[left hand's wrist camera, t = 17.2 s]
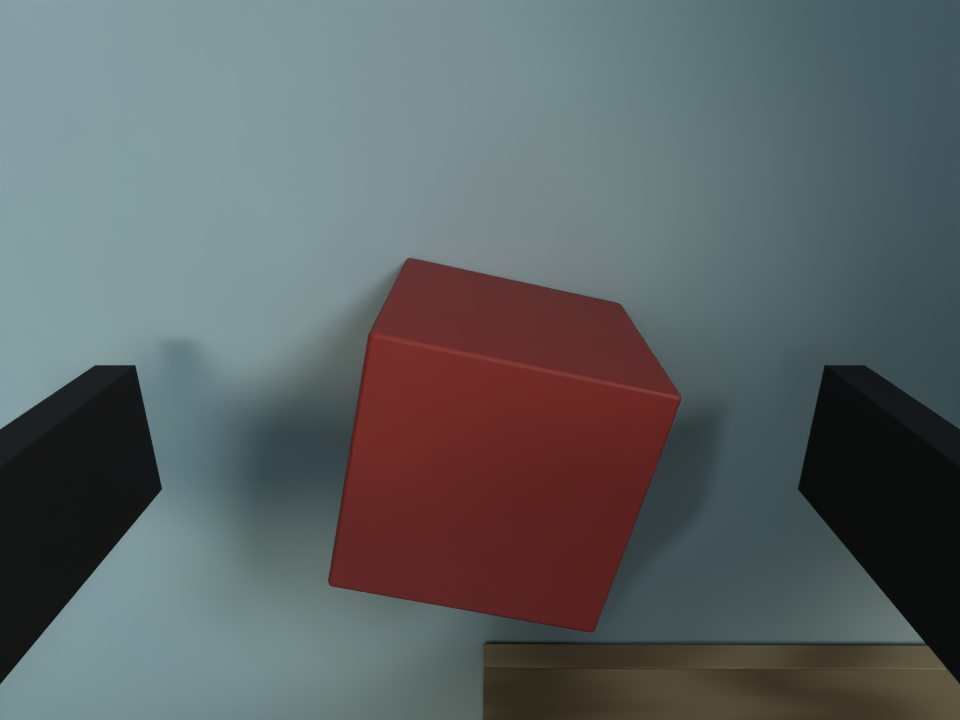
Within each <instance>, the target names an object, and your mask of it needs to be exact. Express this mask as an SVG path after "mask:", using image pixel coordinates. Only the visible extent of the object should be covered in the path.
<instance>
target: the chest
mask: <svg viewBox="0 0 960 720" xmlns="http://www.w3.org/2000/svg"><path fill="white" fill-rule="evenodd" d="M483 720H960V684H959V683H958V681H957V680H956V679H955V678H954V677H953V675H952V674H951V673H950V672H949V671H948V669H947V668H946V667H945V666H944V665H943V663H942V662H941V661H940V660H939V659H938V657H937V656H936V655H935V654H934V653H933V651H932V650H931V649H930V648H929V647H928V645H639V644H484V646H483Z"/></svg>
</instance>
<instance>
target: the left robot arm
mask: <svg viewBox="0 0 960 720" xmlns="http://www.w3.org/2000/svg"><path fill="white" fill-rule="evenodd" d="M161 490H162V487H161V482H160V478H159V473H158V468H157V464H156V459H155V454H154V450H153V445H152V440H151V436H150V431H149V427H148V422H147V417H146V413H145V408H144V403H143V399H142V394H141V389H140V385H139V380H138V376H137V371H136V366H135V365H95V366H94V367H92V368H91V369H89V370H88V371H86V372H85V373H83V374H82V375H80V376H79V377H77V378H76V379H74V380H73V381H71V382H70V383H68V384H67V385H65V386H64V387H62V388H61V389H59V390H58V391H56V392H55V393H54V394H52V395H51V396H49V397H48V398H46V399H45V400H43V401H42V402H40V403H39V404H37V405H36V406H34V407H33V408H31V409H30V410H28V411H27V412H25V413H24V414H22V415H21V416H19V417H18V418H16V419H15V420H14V421H12V422H11V423H9V424H8V425H6V426H5V427H3V428H2V429H0V684H1V683H2V681H3V680H4V679H5V678H6V677H7V675H8V674H9V673H10V672H11V671H12V669H13V668H14V667H15V666H16V665H17V663H18V662H19V661H20V660H21V659H22V657H23V656H24V655H25V654H26V653H27V651H28V650H29V649H30V648H31V646H32V645H33V644H34V643H35V642H36V640H37V639H38V638H39V637H40V636H41V634H42V633H43V632H44V631H45V630H46V628H47V627H48V626H49V625H50V624H51V622H52V621H53V620H54V619H55V618H56V616H57V615H58V614H59V613H60V612H61V610H62V609H63V608H64V607H65V605H66V604H67V603H68V602H69V601H70V599H71V598H72V597H73V596H74V595H75V593H76V592H77V591H78V590H79V589H80V587H81V586H82V585H83V584H84V583H85V581H86V580H87V579H88V578H89V577H90V575H91V574H92V573H93V572H94V571H95V569H96V568H97V567H98V566H99V564H100V563H101V562H102V561H103V560H104V558H105V557H106V556H107V555H108V554H109V552H110V551H111V550H112V549H113V548H114V546H115V545H116V544H117V543H118V542H119V540H120V539H121V538H122V537H123V536H124V534H125V533H126V532H127V531H128V530H129V528H130V527H131V526H132V525H133V523H134V522H135V521H136V520H137V519H138V517H139V516H140V515H141V514H142V513H143V511H144V510H145V509H146V508H147V507H148V505H149V504H150V503H151V502H152V501H153V499H154V498H155V497H156V496H157V495H158V493H159V492H160V491H161ZM798 490H799V491H800V492H801V493H802V495H803V496H804V497H805V498H806V499H807V501H808V502H809V503H810V504H811V505H812V507H813V508H814V509H815V510H816V511H817V513H818V514H819V515H820V516H821V517H822V519H823V520H824V521H825V522H826V523H827V525H828V526H829V527H830V528H831V530H832V531H833V532H834V533H835V534H836V536H837V537H838V538H839V539H840V540H841V542H842V543H843V544H844V545H845V546H846V548H847V549H848V550H849V551H850V552H851V554H852V555H853V556H854V557H855V558H856V560H857V561H858V562H859V563H860V564H861V566H862V567H863V568H864V569H865V571H866V572H867V573H868V574H869V575H870V577H871V578H872V579H873V580H874V581H875V583H876V584H877V585H878V586H879V587H880V589H881V590H882V591H883V592H884V593H885V595H886V596H887V597H888V598H889V599H890V601H891V602H892V603H893V604H894V606H895V607H896V608H897V609H898V610H899V612H900V613H901V614H902V615H903V616H904V618H905V619H906V620H907V621H908V622H909V624H910V625H911V626H912V627H913V628H914V630H915V631H916V632H917V633H918V634H919V636H920V637H921V638H922V639H923V640H924V642H925V643H926V644H927V645H928V647H929V648H930V649H931V650H932V651H933V653H934V654H935V655H936V656H937V657H938V659H939V660H940V661H941V662H942V663H943V665H944V666H945V667H946V668H947V669H948V671H949V672H950V673H951V674H952V675H953V677H954V678H955V679H956V680H957V681H958V683H959V684H960V429H958V428H957V427H955V426H954V425H952V424H951V423H949V422H948V421H946V420H945V419H944V418H942V417H941V416H939V415H938V414H936V413H935V412H933V411H932V410H930V409H929V408H927V407H926V406H924V405H923V404H921V403H920V402H918V401H917V400H915V399H914V398H912V397H911V396H909V395H908V394H906V393H905V392H904V391H902V390H901V389H899V388H898V387H896V386H895V385H893V384H892V383H890V382H889V381H887V380H886V379H884V378H883V377H881V376H880V375H878V374H877V373H875V372H874V371H872V370H871V369H869V368H868V367H866V366H865V365H825V366H824V371H823V376H822V380H821V385H820V389H819V394H818V399H817V403H816V408H815V413H814V417H813V422H812V427H811V431H810V436H809V440H808V445H807V450H806V454H805V459H804V464H803V468H802V473H801V478H800V482H799V487H798Z"/></svg>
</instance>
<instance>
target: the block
mask: <svg viewBox="0 0 960 720" xmlns="http://www.w3.org/2000/svg"><path fill="white" fill-rule="evenodd" d="M680 401H681V395H680V394H679V392H678V391H677V389H676V388H675V386H674V385H673V383H672V382H671V380H670V379H669V377H668V376H667V374H666V373H665V371H664V370H663V368H662V367H661V365H660V363H659V362H658V360H657V359H656V357H655V356H654V354H653V353H652V351H651V350H650V348H649V347H648V345H647V344H646V342H645V341H644V339H643V338H642V336H641V335H640V333H639V331H638V330H637V328H636V327H635V325H634V324H633V322H632V321H631V319H630V318H629V316H628V315H627V313H626V312H625V310H624V309H623V307H622V306H621V305H620V304H618V303H614V302H609V301H605V300H600V299H595V298H591V297H586V296H582V295H577V294H572V293H568V292H563V291H559V290H554V289H549V288H545V287H540V286H536V285H531V284H526V283H522V282H517V281H513V280H508V279H503V278H499V277H494V276H490V275H485V274H480V273H476V272H471V271H467V270H462V269H457V268H453V267H448V266H444V265H439V264H434V263H430V262H425V261H421V260H416V259H411V258H409V259H407V260H406V262H405V264H404V266H403V268H402V270H401V272H400V274H399V275H398V277H397V279H396V281H395V283H394V285H393V287H392V289H391V291H390V293H389V295H388V297H387V299H386V301H385V303H384V305H383V307H382V309H381V311H380V313H379V315H378V317H377V319H376V321H375V323H374V325H373V327H372V329H371V331H370V333H369V335H368V340H367V347H366V353H365V359H364V365H363V371H362V377H361V383H360V389H359V395H358V402H357V408H356V414H355V420H354V426H353V432H352V438H351V444H350V451H349V457H348V463H347V469H346V475H345V481H344V487H343V493H342V499H341V506H340V512H339V518H338V524H337V530H336V536H335V542H334V548H333V555H332V561H331V567H330V573H329V579H328V581H329V585H331V586H333V587H339V588H344V589H350V590H356V591H361V592H367V593H372V594H378V595H384V596H389V597H395V598H400V599H406V600H412V601H417V602H423V603H428V604H434V605H440V606H445V607H451V608H456V609H462V610H468V611H473V612H479V613H484V614H490V615H496V616H501V617H507V618H512V619H518V620H524V621H529V622H535V623H540V624H546V625H552V626H557V627H563V628H568V629H574V630H580V631H585V632H593V631H594V630H595V628H596V625H597V622H598V620H599V617H600V614H601V612H602V609H603V606H604V604H605V601H606V598H607V596H608V593H609V590H610V588H611V585H612V582H613V580H614V577H615V574H616V572H617V569H618V566H619V564H620V561H621V559H622V556H623V553H624V551H625V548H626V545H627V543H628V540H629V537H630V535H631V532H632V529H633V527H634V524H635V521H636V519H637V516H638V513H639V511H640V508H641V505H642V503H643V500H644V497H645V495H646V492H647V489H648V487H649V484H650V481H651V479H652V476H653V473H654V471H655V468H656V465H657V463H658V460H659V457H660V455H661V452H662V449H663V447H664V444H665V441H666V439H667V436H668V433H669V431H670V428H671V425H672V423H673V420H674V417H675V415H676V412H677V409H678V407H679V404H680Z"/></svg>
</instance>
